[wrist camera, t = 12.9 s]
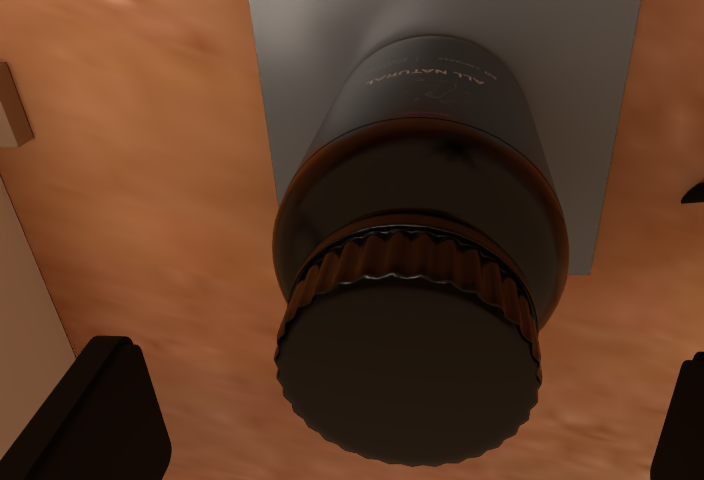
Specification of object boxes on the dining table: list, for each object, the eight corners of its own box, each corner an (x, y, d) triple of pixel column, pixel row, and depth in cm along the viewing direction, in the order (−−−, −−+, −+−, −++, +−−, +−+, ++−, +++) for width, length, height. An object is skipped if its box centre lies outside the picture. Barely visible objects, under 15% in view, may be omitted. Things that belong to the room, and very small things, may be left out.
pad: (585, 263, 23) (589, 274, 23) (291, 257, 25) (287, 267, 24) (646, -80, 17) (655, -78, 16) (248, -57, 19) (241, -54, 18)
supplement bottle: (457, -17, 18) (476, 125, 8) (565, 154, 20) (689, 435, 10) (290, 109, 21) (143, 334, 10) (402, 246, 23) (371, 537, 13)
